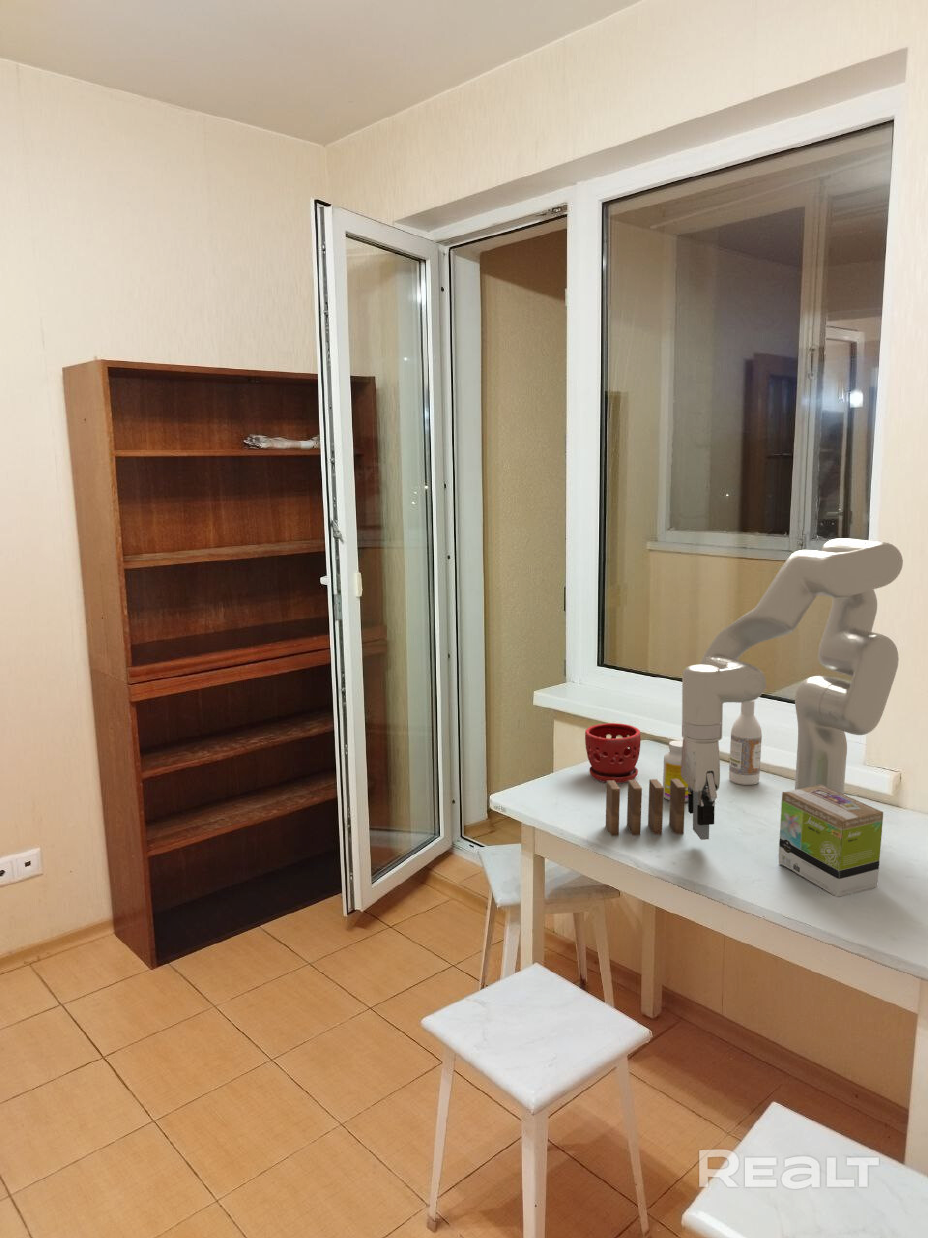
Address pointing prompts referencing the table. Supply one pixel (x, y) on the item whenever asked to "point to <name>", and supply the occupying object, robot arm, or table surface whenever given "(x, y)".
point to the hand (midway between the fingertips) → (700, 817)
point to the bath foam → (745, 747)
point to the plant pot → (613, 751)
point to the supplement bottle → (673, 768)
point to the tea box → (830, 839)
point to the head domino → (699, 829)
